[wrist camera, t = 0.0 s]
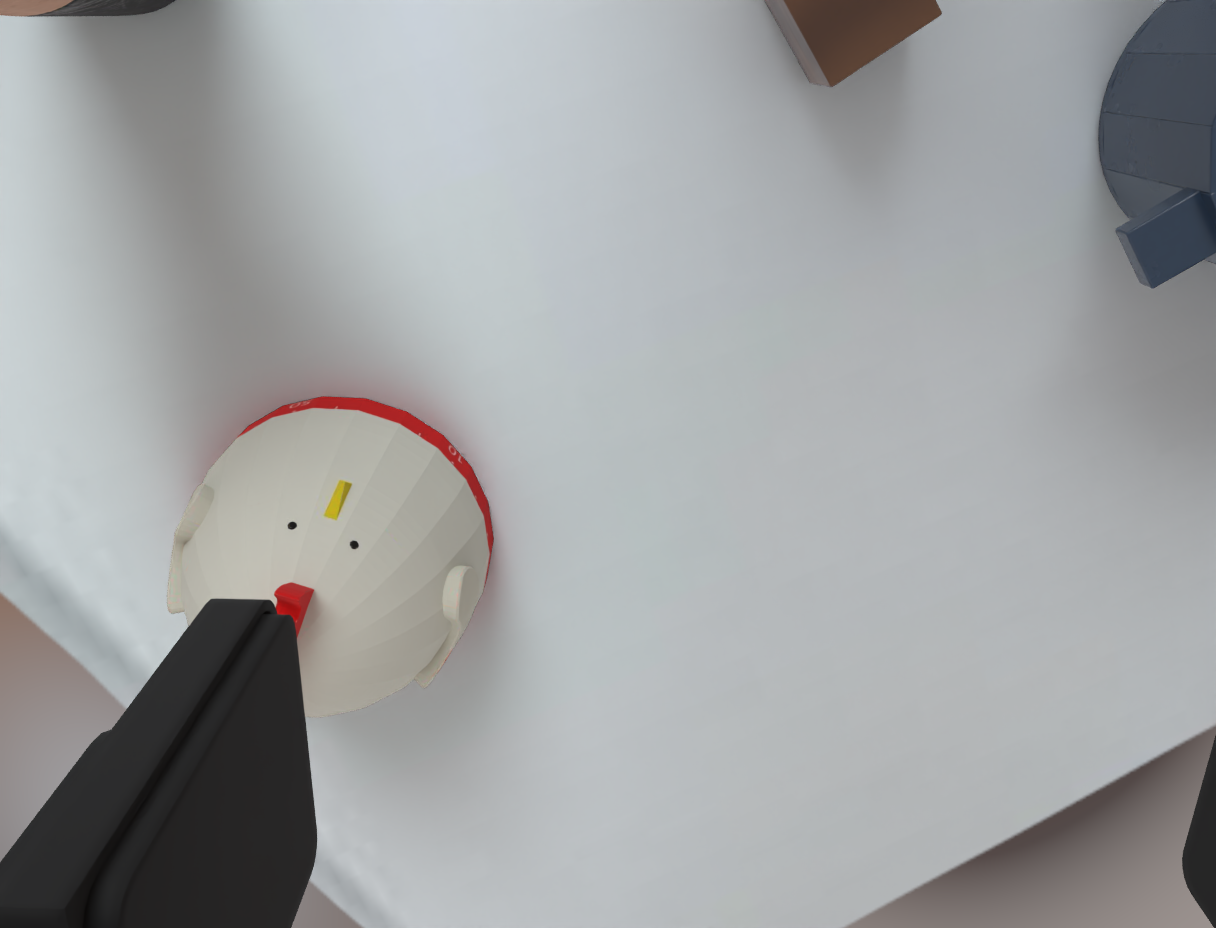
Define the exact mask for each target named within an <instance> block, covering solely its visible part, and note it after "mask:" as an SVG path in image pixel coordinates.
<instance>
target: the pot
mask: <svg viewBox="0 0 1216 928" xmlns="http://www.w3.org/2000/svg"><path fill="white" fill-rule="evenodd" d="M1099 149H1100V159H1101V163H1102V168H1103V172H1104V176H1105V179H1106V181H1107V184H1108V186H1109V189H1110V191H1111V193H1112V195H1113V197H1114V198H1115V200H1116V202H1117V204H1118V205H1119V207H1120V208H1121V209H1122V210H1123V212H1124V213H1125V214H1126V215H1127V217H1128V218H1129V219H1130V221H1128V222H1127V223H1125V224H1123V225H1122V226H1120V227H1118V228H1117V229H1116V233H1117V235H1118V237H1119V239H1120V242H1121V244H1122V246H1123V248H1124V250H1125V252H1126V254H1127V256H1128V258H1129V261H1130V263H1131V265H1132V267H1133V269H1134V271H1135V273H1136V275H1137V277H1138V280H1139V282H1140V283H1141V284H1143V285H1145V286H1148V287H1150V288H1155V287H1157V286H1158V285H1160V284H1162V283H1164V282H1165V281H1167V280H1169V279H1171V278H1172V277H1174V276H1176V275H1178V274H1179V273H1181V272H1183V271H1185V270H1186V269H1188V268H1190V267H1192V266H1193V265H1195V264H1197V263H1199V262H1200V261H1202V260H1206V261H1209V262H1212V263H1214V264H1216V0H1167V1H1166V2H1165V3H1163V4H1162V5H1161V6H1160V7H1159V8H1158V9H1157V10H1156V11H1154V12H1153V14H1152V15H1151V16H1150V17H1149V18H1148V19H1147V20H1146V21H1145V23H1144V24H1143V25H1142V26H1141V27H1140V28H1139V29H1138V31H1137V32H1136V34H1135V35H1134V36H1133V38H1132V39H1131V41H1130V42H1129V43H1128V45H1127V46H1126V48H1125V50H1124V52H1123V53H1122V55H1121V57H1120V59H1119V61H1118V62H1117V64H1116V67H1115V69H1114V71H1113V74H1112V76H1111V78H1110V81H1109V83H1108V86H1107V90H1106V93H1105V96H1104V100H1103V104H1102V110H1101V116H1100V123H1099Z"/></svg>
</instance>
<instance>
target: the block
mask: <svg viewBox="0 0 1216 928" xmlns="http://www.w3.org/2000/svg"><path fill="white" fill-rule="evenodd" d="M765 2H766V4H767V6H768V7H769V9H770V11H771V13H772V15H773V17H774V18H775V20H776V22H777V24H778V26H779V27H780V29H781V31H782V33H783V35H784V37H785V38H786V40H787V42H788V44H789V46H790V47H791V49H792V51H793V53H794V55H795V56H796V58H797V60H798V62H799V64H800V66H801V67H802V69H803V71H804V73H805V75H806V76H807V78H808V80H809V82H810V83H812V84H817V85H823V86H828V87H833V86H835V85H836V84H838V83H839V82H841V81H842V80H844V79H845V78H847V77H848V76H850V75H851V74H853V73H854V72H856V71H857V70H859V69H860V68H862V67H863V66H865V65H866V64H868V63H869V62H871V61H872V60H874V59H875V58H877V57H879V56H880V55H882V54H883V53H885V52H886V51H888V50H889V49H891V48H892V47H894V46H895V45H897V44H898V43H900V42H901V41H903V40H904V39H906V38H907V37H909V36H910V35H912V34H913V33H915V32H916V31H918V30H919V29H921V28H922V27H924V26H925V25H927V24H928V23H930V22H931V21H933V20H934V19H936V18H938V17H939V16H941V14H942V12H941V10H940V8H939V6H938V4H937V2H936V0H765Z"/></svg>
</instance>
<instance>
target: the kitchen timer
mask: <svg viewBox="0 0 1216 928" xmlns="http://www.w3.org/2000/svg"><path fill="white" fill-rule="evenodd" d="M493 540H494V538H493V531H492V525H491V518H490V511H489V505H488V501H487V499H486V497H485V494H484V492H483V490H482V488H481V486H480V484H479V482H478V480H477V478H476V476H475V474H474V472H473V470H472V467H471V466H470V465H469V464H468V462H467V461H466V460H465V459H464V458H463V457H462V456H461V455H460V454H459V452H458V451H457V450H456V449H455V448H454V447H453V446H452V445H451V443H450V442H449V441H448V440H447V439H446V438H445V437H444V436H443V435H442V434H440V433H439V432H437V431H436V430H434V429H433V428H431V427H430V426H428V425H427V424H425V423H423V422H422V421H420V420H419V419H417V418H416V417H414V416H413V415H411V414H410V413H408V412H406V411H403V410H400V409H396V408H393V407H390V406H387V405H384V404H381V403H378V402H375V401H372V400H369V399H364V398H344V397H324V396H323V397H319V398H314V399H310V400H306V401H301V402H297V403H293V404H289V405H284V406H282V407H280V408H278V409H277V410H275V411H273V412H271V413H270V414H268V415H266V416H265V417H263V418H261V419H259V420H258V421H256V422H254V423H253V424H251V425H249V426H248V427H247V428H246V429H245V430H244V431H243V432H242V433H241V434H240V435H239V436H238V437H237V438H236V439H235V440H234V442H233V443H232V444H231V445H230V446H229V447H228V448H227V449H226V451H225V452H224V453H223V454H222V455H221V456H220V457H219V459H218V460H217V461H216V462H215V463H214V464H213V465H212V467H211V468H210V469H209V471H208V473H207V474H206V476H205V479H204V481H203V483H202V484H200V485H199V486H198V487H197V488H196V490H195V491H194V493H193V495H192V497H191V499H190V502H189V504H188V506H187V508H186V511H185V513H184V515H183V517H182V519H181V521H180V523H179V525H178V527H177V529H176V532H175V535H174V544H173V550H172V557H171V564H170V572H169V580H168V590H167V607H168V611H169V612H170V613H171V614H174V613H180V612H185V615H186V619H187V622H188V626H189V625H190V624H191V623H192V621H193V620H194V619H195V617H196V616H197V615H198V613H199V612H200V611H201V609H202V608H203V607H204V605H205V604H206V603H207V602H208V601H209V600H210V599H216V598H218V599H263V600H271V601H272V602H273V603H274V605H275V608H276V610H277V614H282V615H291V616H292V617H293V620H294V622H295V628H296V635H297V645H298V654H299V664H300V674H301V683H302V693H303V702H304V712H305V717H326V716H331V715H336V714H341V713H346V712H351V711H355V710H359V709H363V708H365V707H368V706H370V705H372V704H373V703H375V702H377V701H379V700H381V699H383V698H385V697H387V696H389V695H391V694H393V693H395V692H397V691H399V690H401V689H402V688H404V687H405V686H407V685H408V684H409V683H410V682H411V681H413V680H414V679H415V681H416V682H417V683H418V684H419V685H420V686H421V687H422V688H426V687H427V686H428V685H429V684H430V683H431V681H432V680H433V679H434V677H435V676H436V674H437V673H438V671H439V670H440V668H441V667H442V665H443V664H444V662H445V661H446V659H447V657H448V656H449V654H450V653H451V651H452V650H453V648H454V647H455V645H456V644H457V642H458V641H459V639H460V638H461V636H462V634H463V633H464V631H465V629H466V627H467V625H468V623H469V621H470V619H471V617H472V615H473V612H474V609H475V607H476V605H477V603H478V601H479V599H480V597H481V595H482V593H483V591H484V587H485V583H486V579H487V575H488V569H489V564H490V558H491V552H492V546H493Z"/></svg>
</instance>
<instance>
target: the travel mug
mask: <svg viewBox="0 0 1216 928" xmlns="http://www.w3.org/2000/svg"><path fill="white" fill-rule="evenodd" d="M174 1H175V0H0V15H6V16H123V15H137V14H145V13H149V12H153V11H156V10H159V9H161V8H163V7H165V6H167V5H169V4H170V3H172V2H174Z"/></svg>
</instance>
